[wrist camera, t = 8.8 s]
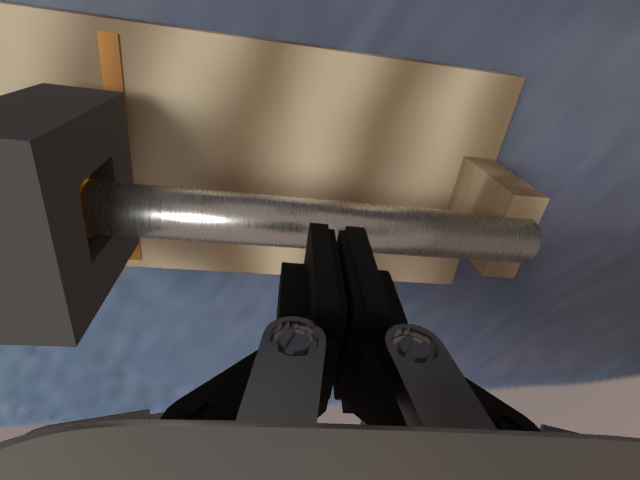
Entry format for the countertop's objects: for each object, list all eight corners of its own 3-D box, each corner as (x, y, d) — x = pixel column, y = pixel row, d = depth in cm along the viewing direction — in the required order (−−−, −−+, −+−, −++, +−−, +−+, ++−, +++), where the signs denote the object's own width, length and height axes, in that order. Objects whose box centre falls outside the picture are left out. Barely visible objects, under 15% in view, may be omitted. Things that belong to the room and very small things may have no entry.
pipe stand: (509, 73, 20) (601, 97, 14) (442, 270, 26) (488, 343, 20) (-49, -7, 16) (-221, -16, 11) (20, 244, 22) (-68, 323, 16)
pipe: (520, 204, 18) (551, 229, 16) (502, 249, 19) (528, 277, 17) (-97, 149, 14) (-159, 171, 12) (-75, 207, 15) (-127, 236, 13)
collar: (123, 92, 16) (29, 141, 10) (139, 242, 19) (76, 346, 13) (42, 82, 15) (-108, 128, 9) (73, 237, 19) (-23, 344, 13)
